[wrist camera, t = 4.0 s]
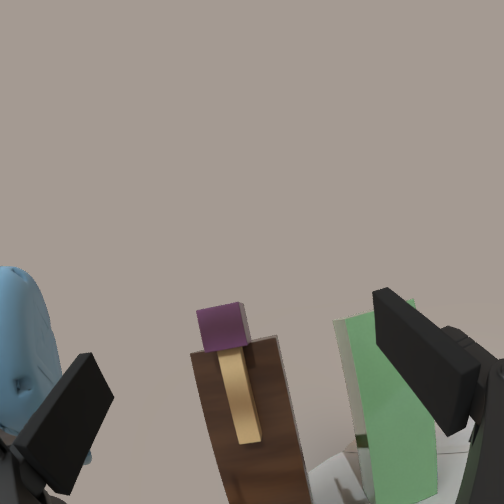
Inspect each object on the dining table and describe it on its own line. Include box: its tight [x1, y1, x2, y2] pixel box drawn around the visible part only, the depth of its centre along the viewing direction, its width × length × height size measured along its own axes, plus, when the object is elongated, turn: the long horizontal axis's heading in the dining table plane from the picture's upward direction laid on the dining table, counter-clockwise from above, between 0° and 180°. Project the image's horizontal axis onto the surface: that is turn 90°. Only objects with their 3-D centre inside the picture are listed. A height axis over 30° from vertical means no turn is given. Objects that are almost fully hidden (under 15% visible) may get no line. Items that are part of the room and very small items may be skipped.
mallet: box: [196, 302, 262, 444], centre depth 32 cm, size 16×4×4 cm
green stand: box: [333, 299, 437, 504], centre depth 39 cm, size 10×10×32 cm
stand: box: [190, 335, 313, 504], centre depth 35 cm, size 10×10×32 cm
